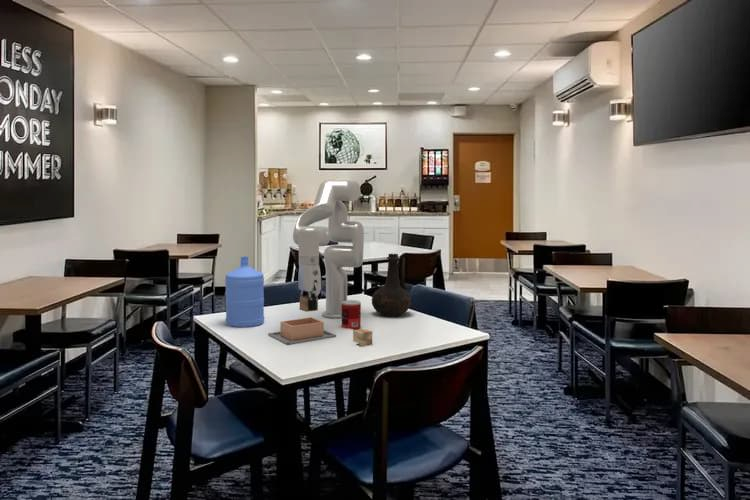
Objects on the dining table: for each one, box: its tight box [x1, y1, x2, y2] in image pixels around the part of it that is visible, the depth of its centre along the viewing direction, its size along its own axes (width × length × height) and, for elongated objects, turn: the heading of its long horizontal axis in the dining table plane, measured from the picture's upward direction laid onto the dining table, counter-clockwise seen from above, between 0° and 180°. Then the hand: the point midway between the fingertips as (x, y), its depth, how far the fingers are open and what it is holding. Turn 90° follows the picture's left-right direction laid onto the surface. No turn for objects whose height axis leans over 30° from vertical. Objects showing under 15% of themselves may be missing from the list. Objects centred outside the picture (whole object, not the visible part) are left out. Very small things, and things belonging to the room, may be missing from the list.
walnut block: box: [299, 295, 319, 313], centre depth 200 cm, size 5×5×5 cm
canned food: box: [341, 299, 362, 330], centre depth 216 cm, size 8×8×11 cm
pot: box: [279, 317, 325, 341], centre depth 200 cm, size 13×9×6 cm
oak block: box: [352, 327, 373, 347], centre depth 194 cm, size 5×5×5 cm
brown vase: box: [371, 253, 412, 317], centre depth 242 cm, size 18×18×28 cm
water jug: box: [224, 256, 265, 328], centre depth 222 cm, size 16×16×28 cm
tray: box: [267, 329, 337, 346], centre depth 200 cm, size 20×16×2 cm
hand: (308, 308), depth 200 cm, fingers closed on walnut block, 5 cm apart
